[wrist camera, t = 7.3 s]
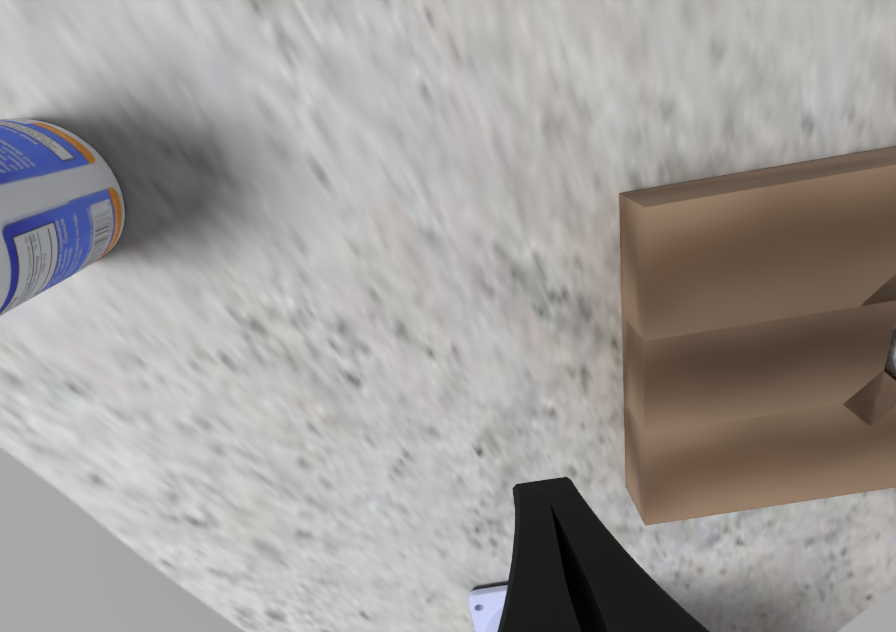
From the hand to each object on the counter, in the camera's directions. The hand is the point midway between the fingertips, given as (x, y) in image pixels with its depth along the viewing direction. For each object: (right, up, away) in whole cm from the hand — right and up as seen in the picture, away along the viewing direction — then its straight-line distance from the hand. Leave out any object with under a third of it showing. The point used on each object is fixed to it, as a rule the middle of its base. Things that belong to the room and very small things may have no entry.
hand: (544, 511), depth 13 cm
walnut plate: (+14, +4, +10) cm, 18 cm away
